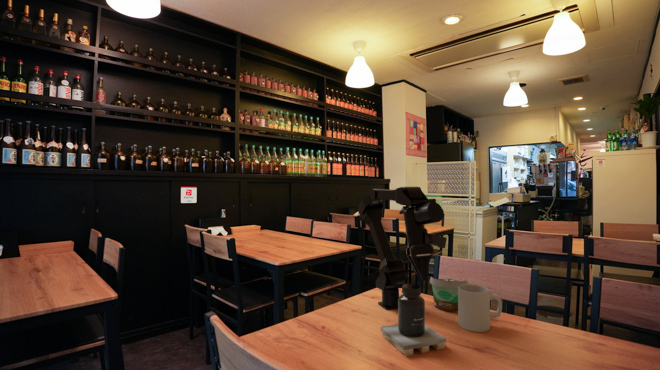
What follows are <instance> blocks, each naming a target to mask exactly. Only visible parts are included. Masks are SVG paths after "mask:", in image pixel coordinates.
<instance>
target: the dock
mask: <svg viewBox="0 0 660 370" xmlns="http://www.w3.org/2000/svg"><path fill="white" fill-rule="evenodd" d="M380 331H381V332H382V336H383V338H384V339H386V340H387V341H388V342H389V343H390V344H391V345H392V346H394V347H395V349H396V350H398V351H399V352H400V353H402V354H403V355H404V356H405V357H410V356H414V349H416V350H417V351H419V352H420V353H421V354H424V353H430V346H432V347H433V348H434V349H435V350H436V351H441V350H445V345H446V343H447V338H446V337H444V336H443V335H441V334H440V333H438V332H436V331H435V330H434V329H432V328H431V327H429V326H427V325H426V324H425V333H424V334H423V335H422V336H420V337H409V336H405V335H403V334H401V333H400V332H399V330H398V323H397V324H390V325H385V326H380Z"/></svg>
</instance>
